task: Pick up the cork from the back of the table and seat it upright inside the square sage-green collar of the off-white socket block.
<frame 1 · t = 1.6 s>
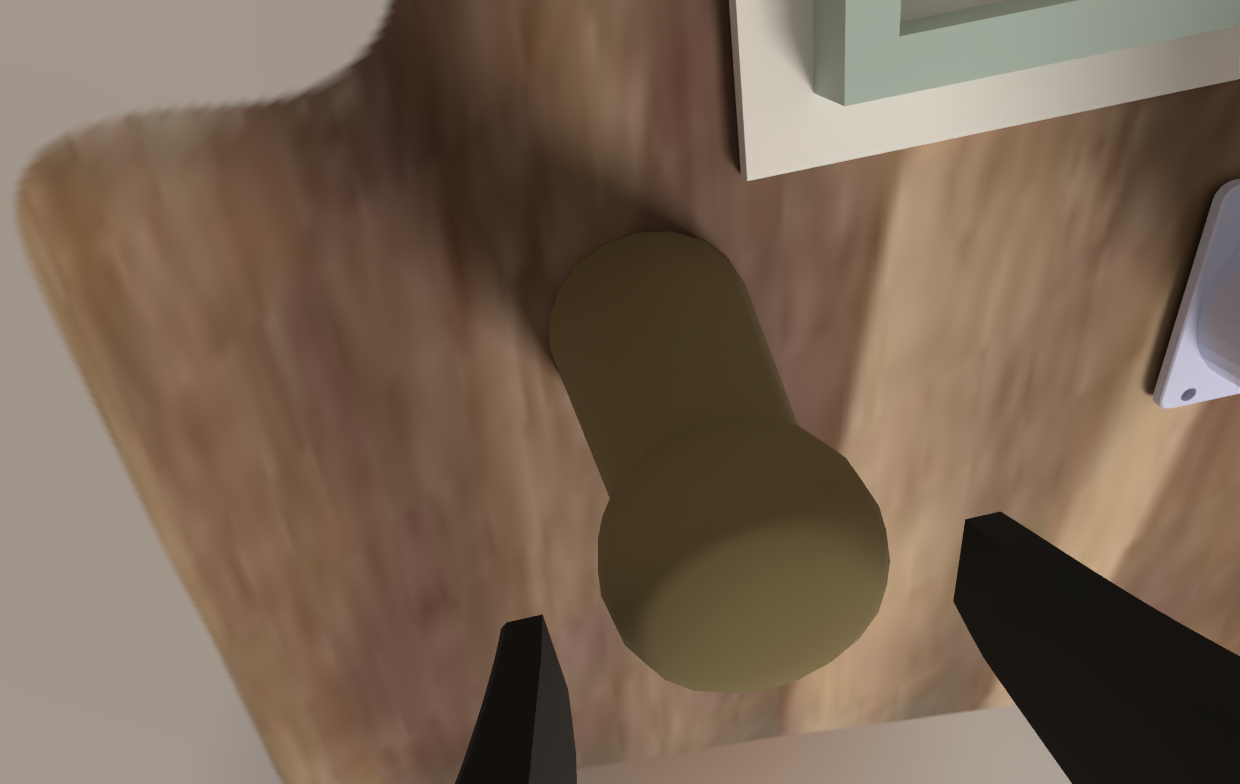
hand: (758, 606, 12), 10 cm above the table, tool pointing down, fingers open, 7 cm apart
cork: (649, 327, 21), on the table
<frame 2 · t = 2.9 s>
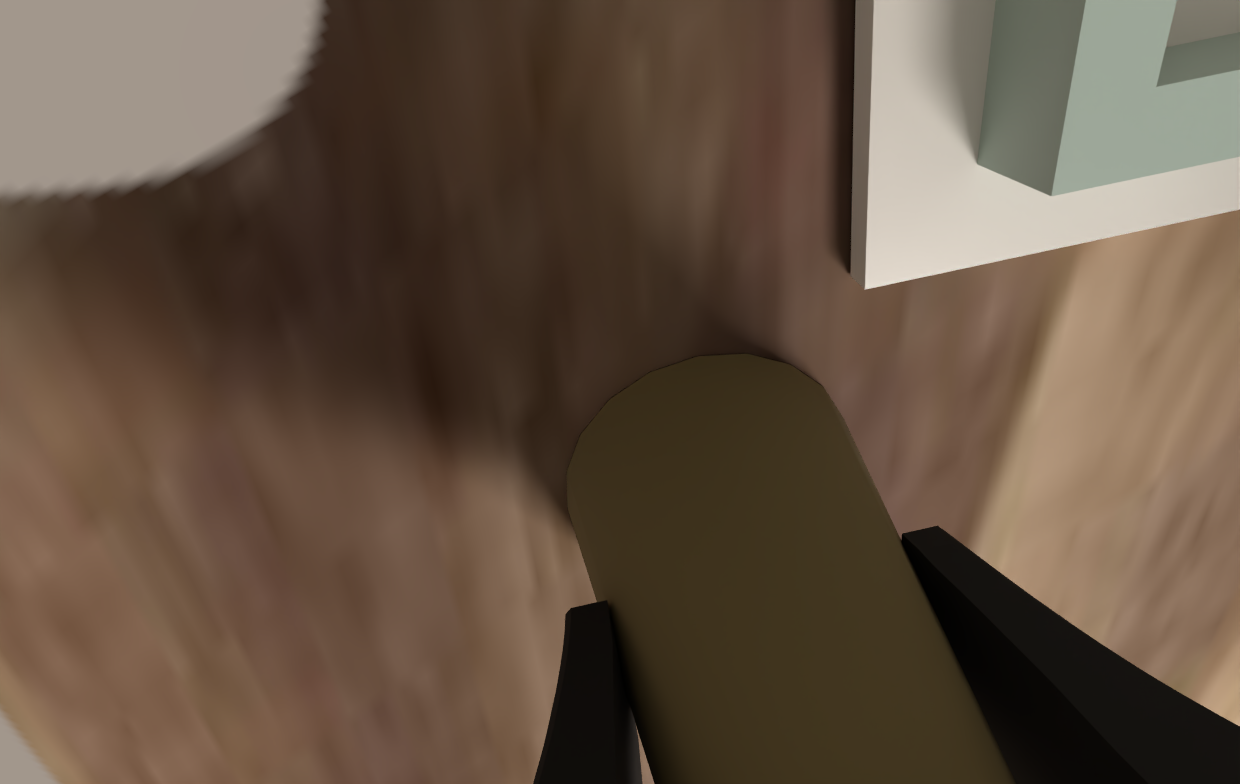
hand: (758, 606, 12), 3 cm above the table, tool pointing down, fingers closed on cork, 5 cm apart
cork: (706, 473, 15), on the table, touching gripper
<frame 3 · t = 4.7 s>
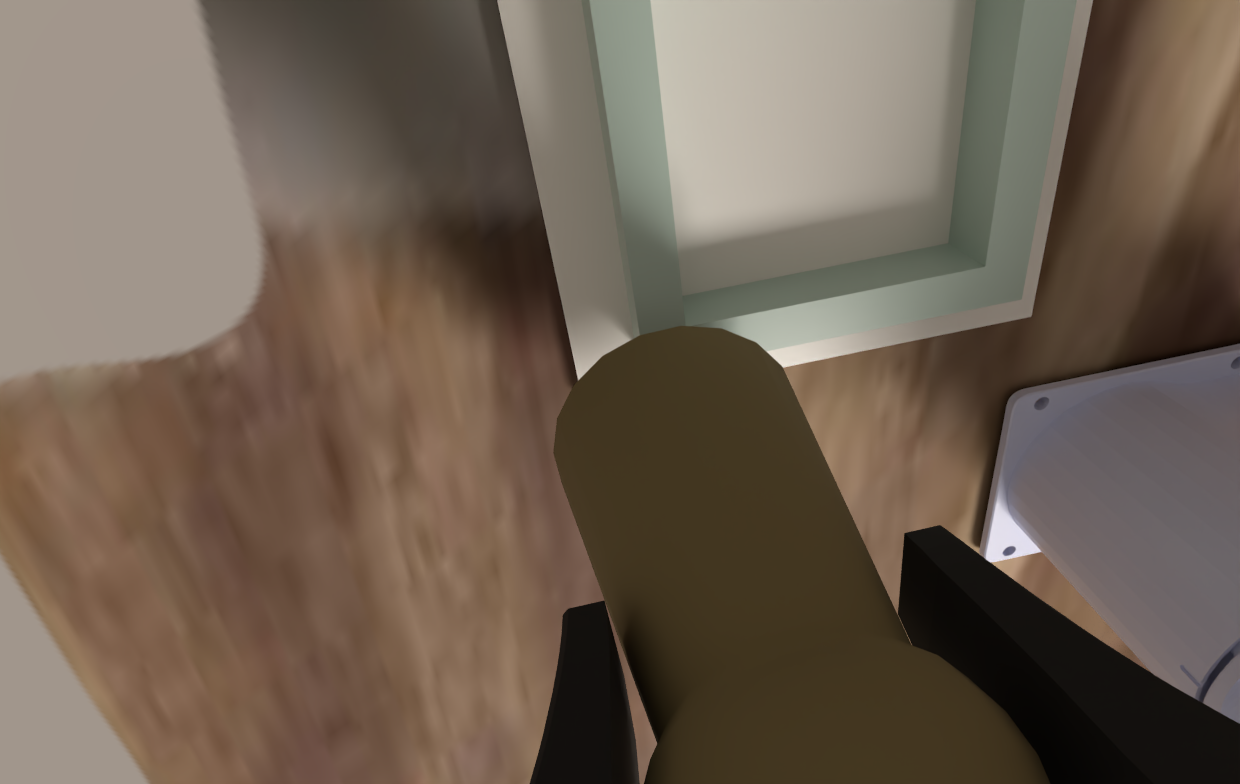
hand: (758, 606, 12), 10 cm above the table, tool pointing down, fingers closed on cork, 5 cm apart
cork: (676, 435, 17), point 4 cm above the table, touching gripper
socket block: (802, 117, 18), on the table
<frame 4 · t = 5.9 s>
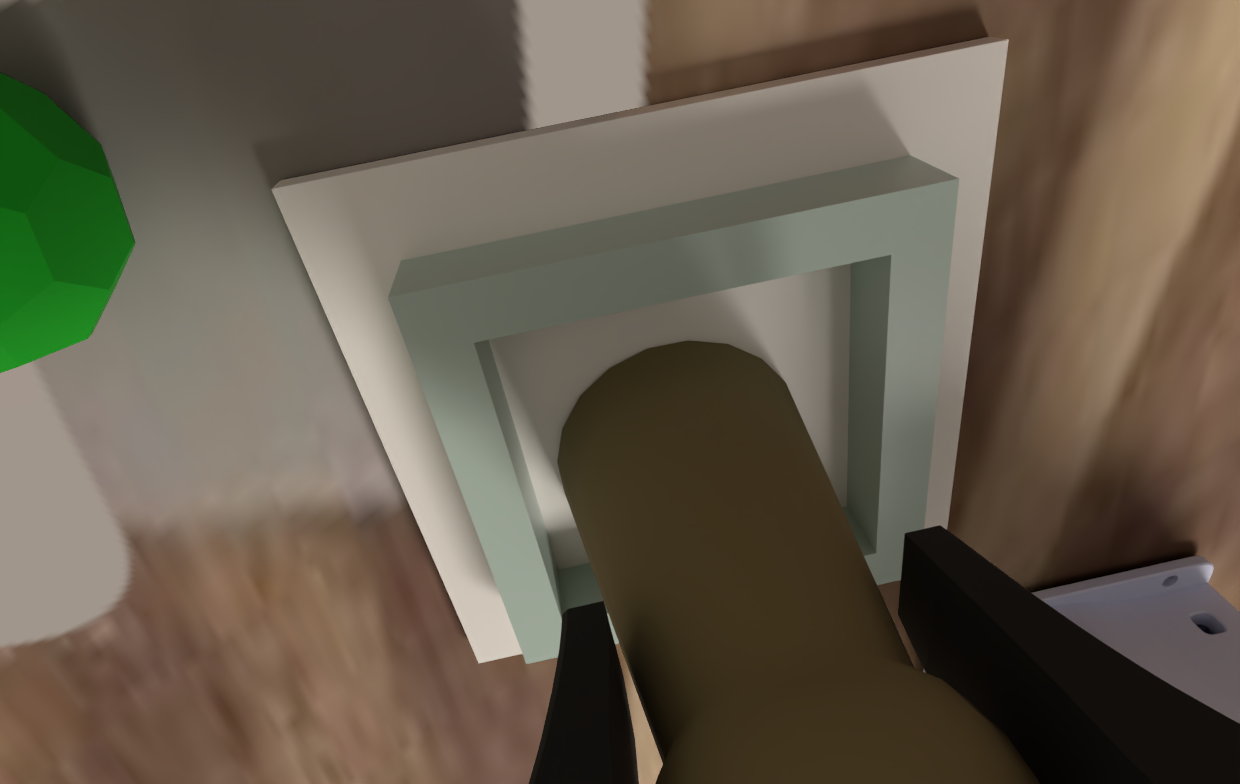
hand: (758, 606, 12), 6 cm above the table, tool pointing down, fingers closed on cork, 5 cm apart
cork: (678, 447, 17), point 1 cm above the table, touching gripper, socket block
polyhedron: (33, 177, 13), on the table
socket block: (681, 404, 17), on the table
when the fingers open (5 cm above the table, at t = 6.7 s): cork stays where it is, resting on socket block.
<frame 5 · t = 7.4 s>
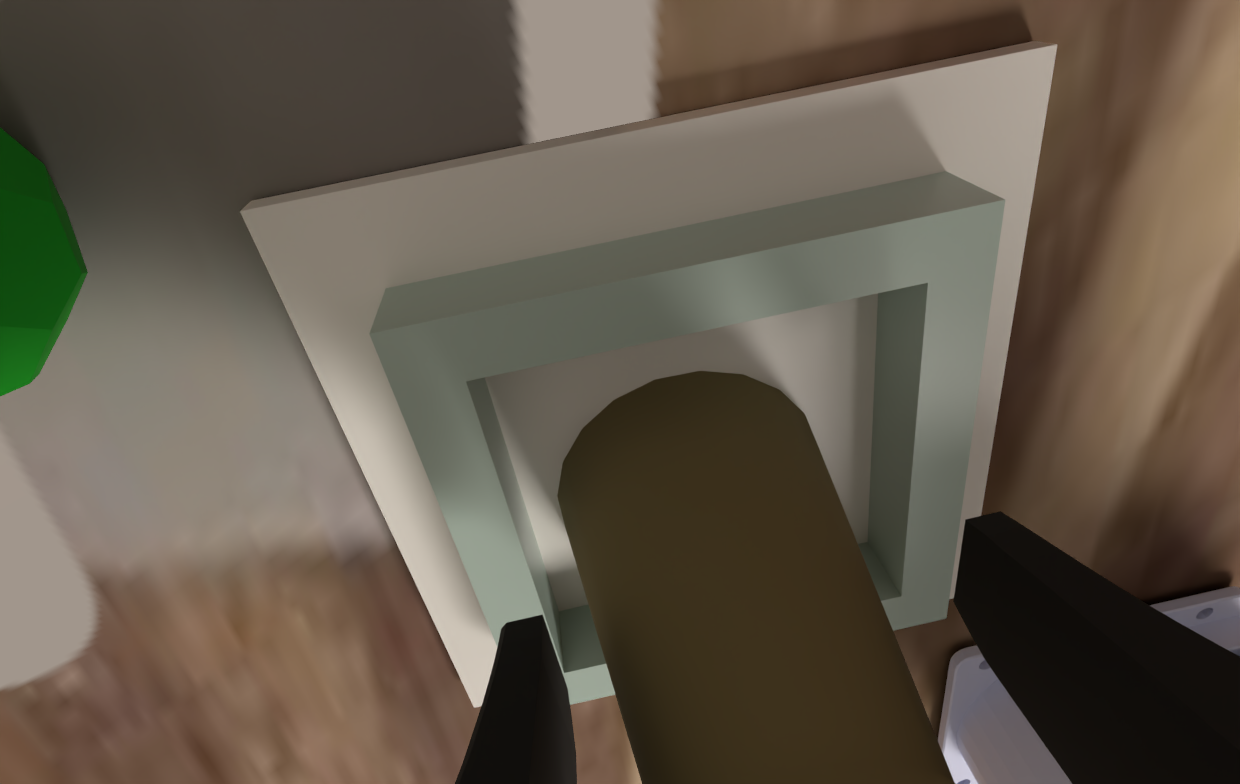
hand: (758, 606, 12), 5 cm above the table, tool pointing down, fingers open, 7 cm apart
cork: (688, 480, 16), resting on socket block
socket block: (692, 437, 16), on the table
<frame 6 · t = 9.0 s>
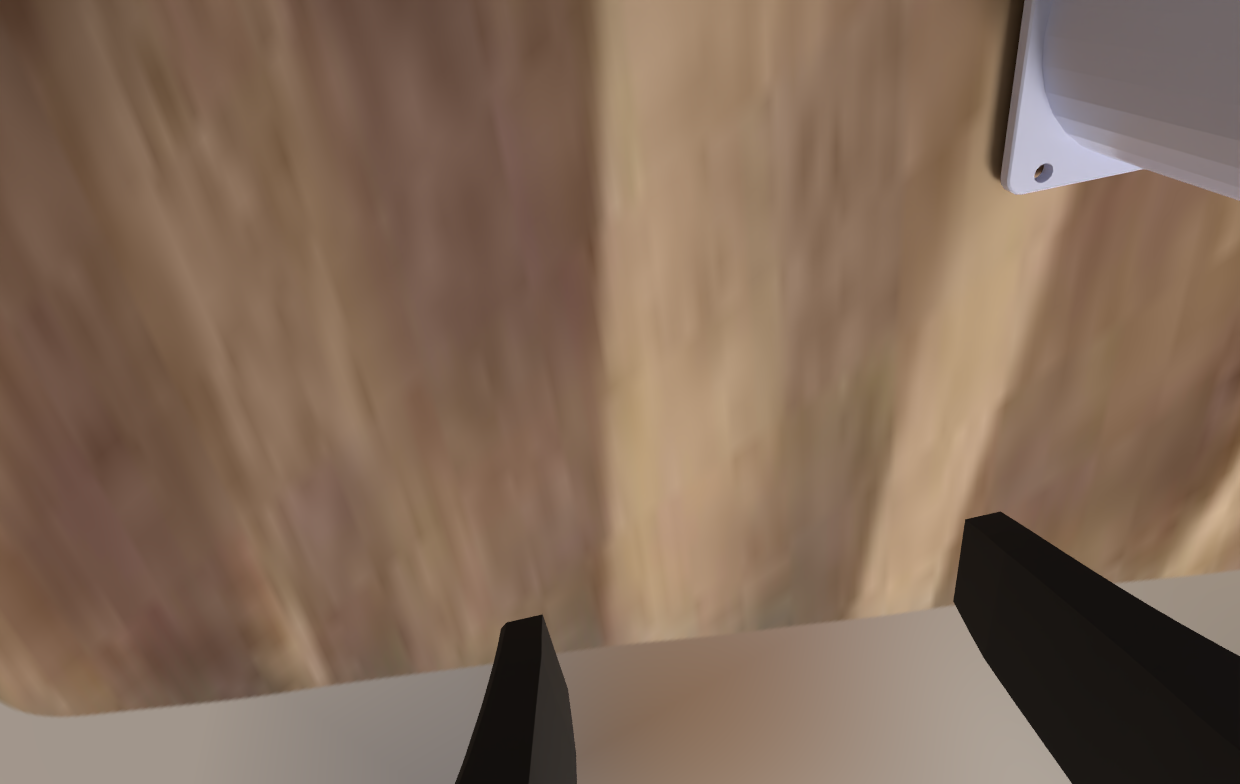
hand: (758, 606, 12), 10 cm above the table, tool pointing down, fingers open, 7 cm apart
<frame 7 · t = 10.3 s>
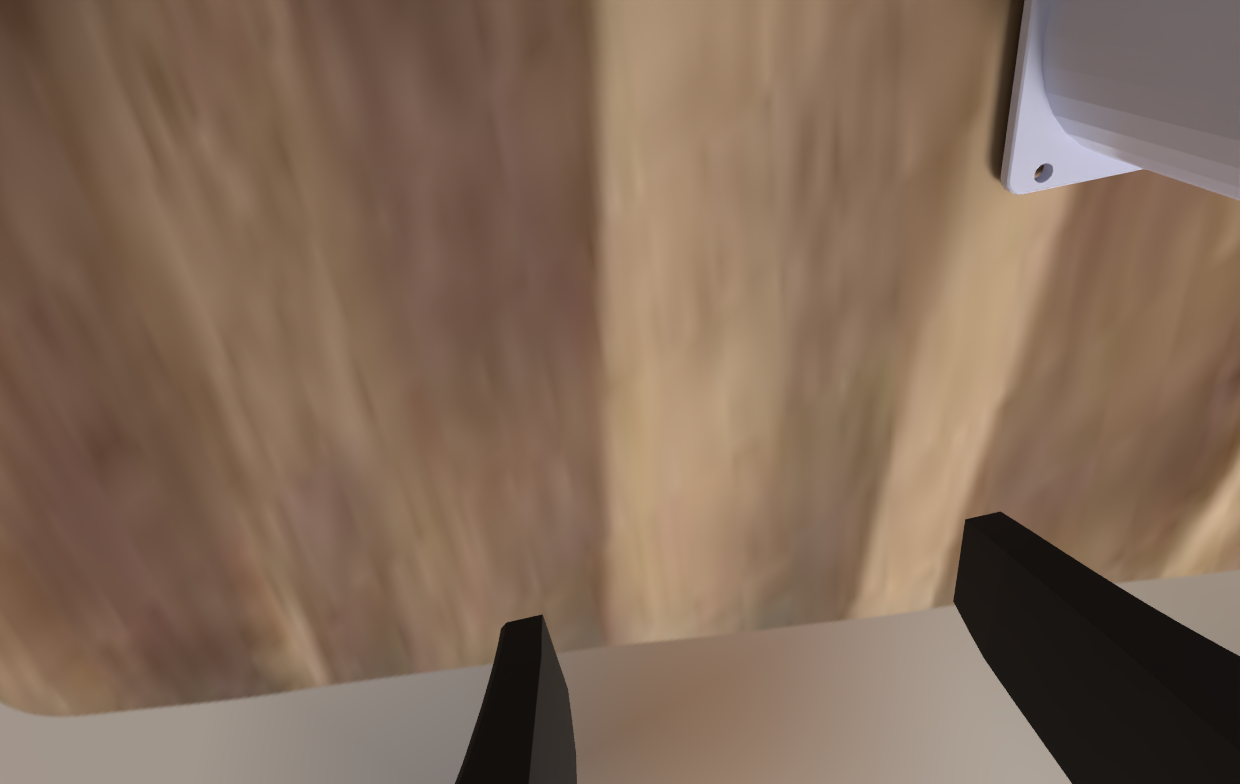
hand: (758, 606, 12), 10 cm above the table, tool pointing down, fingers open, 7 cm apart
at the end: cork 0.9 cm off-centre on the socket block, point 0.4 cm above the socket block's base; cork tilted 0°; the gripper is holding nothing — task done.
